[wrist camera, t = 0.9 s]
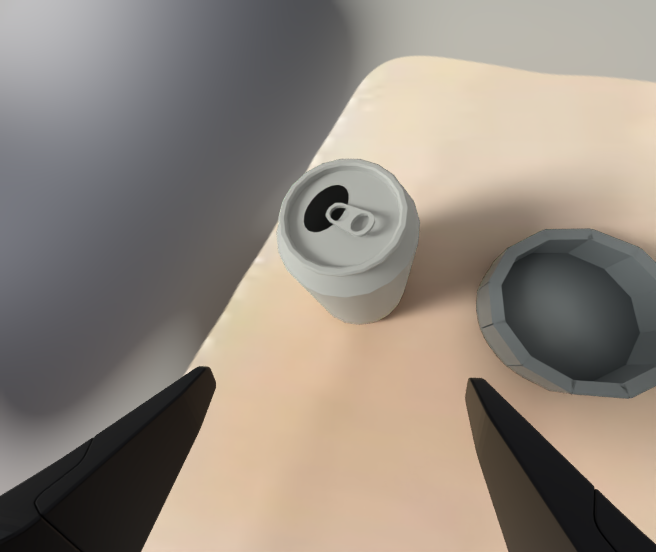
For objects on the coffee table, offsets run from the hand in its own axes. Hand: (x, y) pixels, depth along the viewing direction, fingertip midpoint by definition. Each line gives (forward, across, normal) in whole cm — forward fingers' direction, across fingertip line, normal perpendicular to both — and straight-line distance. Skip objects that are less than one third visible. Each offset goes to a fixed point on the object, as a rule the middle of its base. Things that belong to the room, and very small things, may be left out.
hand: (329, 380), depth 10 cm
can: (+15, 0, +4) cm, 15 cm away
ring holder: (+13, -14, +6) cm, 20 cm away
